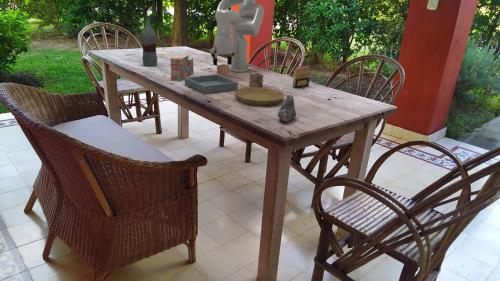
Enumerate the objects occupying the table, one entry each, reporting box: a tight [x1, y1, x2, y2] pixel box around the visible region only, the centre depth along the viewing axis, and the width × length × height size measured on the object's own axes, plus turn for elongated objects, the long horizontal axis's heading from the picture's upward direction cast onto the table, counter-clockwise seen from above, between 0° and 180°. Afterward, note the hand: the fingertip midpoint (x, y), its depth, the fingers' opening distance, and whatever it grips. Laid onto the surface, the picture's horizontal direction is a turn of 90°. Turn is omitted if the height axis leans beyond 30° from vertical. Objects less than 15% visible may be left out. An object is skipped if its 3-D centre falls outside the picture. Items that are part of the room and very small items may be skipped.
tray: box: [184, 73, 239, 95], centre depth 193 cm, size 20×20×4 cm
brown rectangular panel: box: [292, 64, 310, 89], centre depth 202 cm, size 11×2×12 cm, turn 127°
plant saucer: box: [233, 87, 286, 106], centre depth 178 cm, size 24×24×3 cm
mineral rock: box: [277, 94, 297, 122], centre depth 152 cm, size 13×11×10 cm
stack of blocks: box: [170, 54, 194, 82], centre depth 211 cm, size 21×6×12 cm, turn 171°
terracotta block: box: [216, 64, 230, 79], centre depth 214 cm, size 5×5×7 cm
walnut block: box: [248, 72, 264, 88], centre depth 198 cm, size 5×5×7 cm
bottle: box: [140, 15, 158, 68], centre depth 230 cm, size 9×9×30 cm
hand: (222, 64), depth 212 cm, fingers open, 9 cm apart
